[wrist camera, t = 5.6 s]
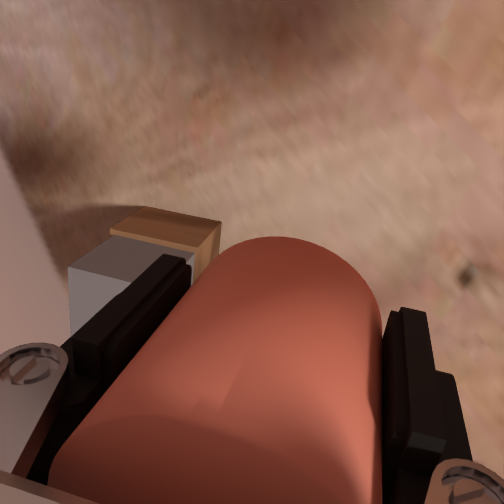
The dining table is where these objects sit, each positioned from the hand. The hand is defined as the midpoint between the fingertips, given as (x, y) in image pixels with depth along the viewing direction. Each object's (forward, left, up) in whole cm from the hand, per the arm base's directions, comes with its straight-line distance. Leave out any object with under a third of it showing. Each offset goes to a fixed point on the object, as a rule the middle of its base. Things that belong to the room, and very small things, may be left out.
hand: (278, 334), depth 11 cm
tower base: (+8, -10, -20) cm, 24 cm away
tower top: (+8, -10, -15) cm, 20 cm away
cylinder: (0, 0, -1) cm, 1 cm away
